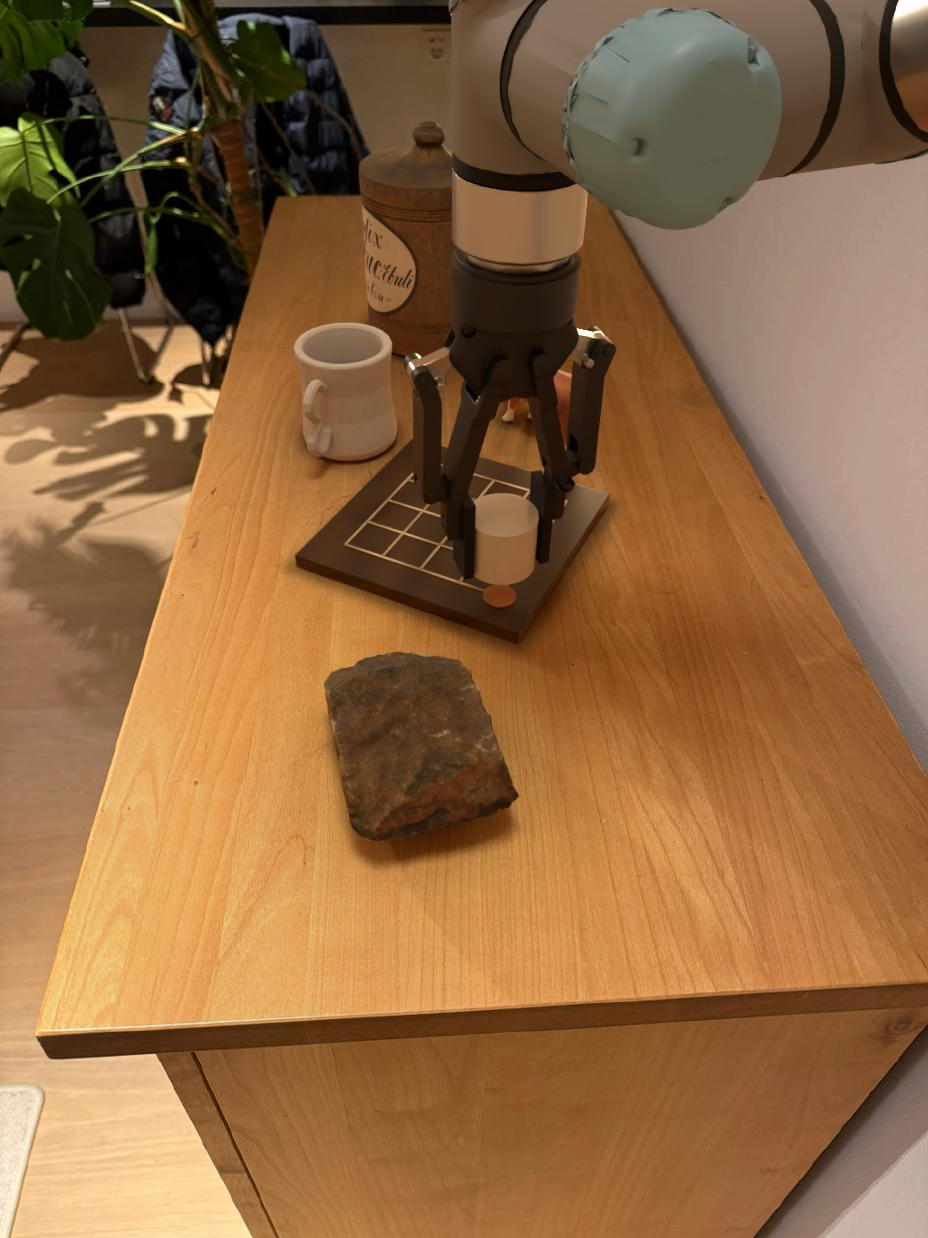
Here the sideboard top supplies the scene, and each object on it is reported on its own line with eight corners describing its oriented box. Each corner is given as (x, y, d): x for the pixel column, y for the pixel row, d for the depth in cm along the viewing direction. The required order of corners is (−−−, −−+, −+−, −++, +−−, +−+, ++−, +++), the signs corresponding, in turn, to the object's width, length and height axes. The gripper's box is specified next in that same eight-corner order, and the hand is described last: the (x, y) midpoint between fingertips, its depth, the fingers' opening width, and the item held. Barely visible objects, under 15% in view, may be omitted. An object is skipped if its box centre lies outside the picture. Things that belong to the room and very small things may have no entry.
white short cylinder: (545, 552, 69) (550, 504, 66) (517, 593, 66) (521, 545, 63) (484, 533, 71) (485, 485, 68) (453, 571, 68) (454, 523, 64)
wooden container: (358, 311, 110) (343, 108, 95) (475, 297, 113) (479, 98, 98) (384, 368, 100) (372, 150, 85) (513, 351, 103) (523, 139, 88)
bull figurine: (511, 393, 96) (515, 319, 90) (596, 450, 88) (606, 373, 83) (478, 405, 94) (479, 330, 89) (562, 464, 86) (570, 386, 81)
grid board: (608, 504, 82) (610, 492, 81) (518, 644, 69) (519, 631, 68) (413, 448, 88) (412, 436, 87) (296, 566, 75) (294, 553, 74)
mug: (330, 407, 93) (321, 314, 87) (412, 425, 91) (409, 330, 84) (270, 471, 85) (254, 373, 78) (358, 492, 83) (350, 393, 76)
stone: (467, 681, 66) (461, 619, 62) (524, 831, 55) (521, 767, 52) (330, 713, 65) (315, 651, 61) (361, 873, 54) (345, 810, 50)
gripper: (631, 208, 57) (591, 509, 73) (346, 241, 53) (370, 553, 69) (689, 254, 52) (632, 566, 68) (379, 294, 48) (396, 618, 64)
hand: (500, 559), depth 68 cm, fingers closed on white short cylinder, 5 cm apart
